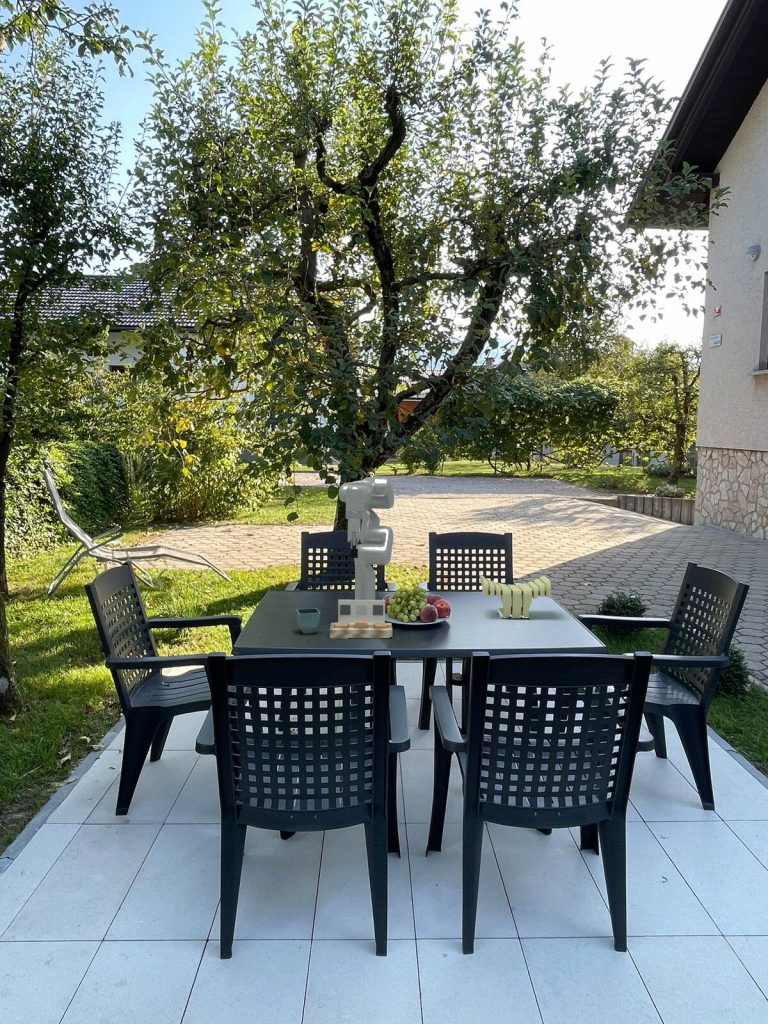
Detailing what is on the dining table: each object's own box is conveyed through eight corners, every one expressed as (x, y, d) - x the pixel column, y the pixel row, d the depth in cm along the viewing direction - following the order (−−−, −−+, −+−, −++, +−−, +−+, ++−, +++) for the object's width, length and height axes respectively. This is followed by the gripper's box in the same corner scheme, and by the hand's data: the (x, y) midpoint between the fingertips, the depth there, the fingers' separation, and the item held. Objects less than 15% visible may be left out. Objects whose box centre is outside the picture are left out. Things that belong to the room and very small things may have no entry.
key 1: (335, 634, 293) (335, 625, 292) (335, 631, 298) (335, 623, 297) (347, 634, 293) (347, 626, 292) (347, 631, 298) (347, 623, 297)
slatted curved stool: (483, 619, 325) (484, 580, 324) (478, 611, 341) (479, 574, 340) (550, 620, 325) (551, 581, 323) (542, 612, 341) (543, 575, 339)
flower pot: (299, 635, 293) (299, 613, 292) (295, 630, 301) (296, 609, 301) (320, 634, 295) (320, 612, 295) (316, 629, 304) (316, 608, 303)
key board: (329, 638, 289) (329, 629, 289) (331, 630, 301) (331, 622, 301) (392, 638, 290) (392, 630, 289) (391, 631, 302) (391, 623, 301)
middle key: (355, 631, 293) (355, 622, 292) (355, 628, 298) (355, 620, 297) (367, 631, 293) (367, 623, 292) (367, 628, 298) (367, 620, 297)
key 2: (374, 634, 293) (374, 626, 293) (374, 631, 298) (374, 623, 298) (387, 634, 293) (387, 626, 293) (386, 631, 298) (386, 623, 298)
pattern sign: (337, 627, 308) (338, 601, 307) (338, 624, 313) (338, 598, 312) (384, 627, 308) (385, 601, 307) (384, 624, 313) (384, 599, 312)
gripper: (346, 513, 316) (345, 555, 318) (345, 516, 301) (344, 560, 303) (363, 513, 316) (362, 555, 318) (363, 517, 301) (362, 560, 303)
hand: (354, 557), depth 310 cm, fingers closed
